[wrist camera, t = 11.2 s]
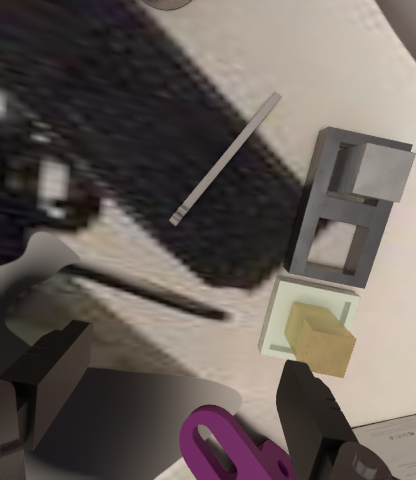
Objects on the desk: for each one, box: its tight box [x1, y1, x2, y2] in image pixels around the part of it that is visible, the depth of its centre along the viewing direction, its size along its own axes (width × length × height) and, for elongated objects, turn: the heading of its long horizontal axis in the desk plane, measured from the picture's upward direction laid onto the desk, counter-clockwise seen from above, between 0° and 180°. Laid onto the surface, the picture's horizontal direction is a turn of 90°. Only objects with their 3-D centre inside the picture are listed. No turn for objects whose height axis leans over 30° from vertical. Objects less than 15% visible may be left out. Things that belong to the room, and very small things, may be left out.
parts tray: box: [258, 276, 361, 361], centre depth 39 cm, size 11×11×2 cm
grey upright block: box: [327, 143, 416, 203], centre depth 32 cm, size 5×5×8 cm
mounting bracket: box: [180, 405, 297, 480], centre depth 43 cm, size 9×8×18 cm
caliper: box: [170, 91, 281, 226], centre depth 33 cm, size 20×1×6 cm, turn 140°
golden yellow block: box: [284, 301, 356, 378], centre depth 36 cm, size 5×5×8 cm
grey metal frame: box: [283, 127, 413, 289], centre depth 36 cm, size 18×10×3 cm, turn 168°
